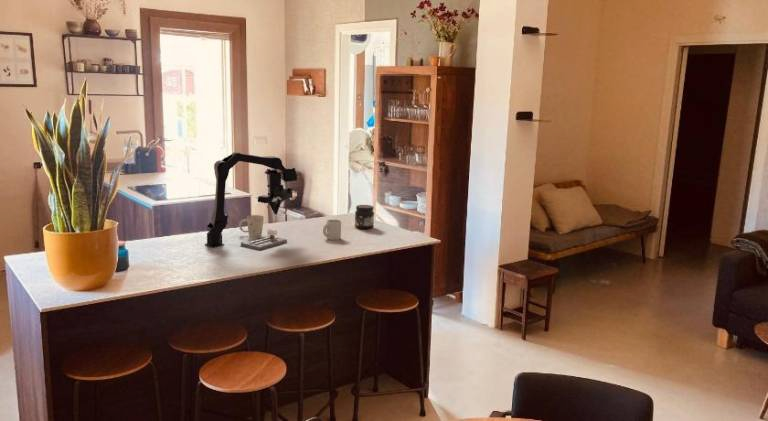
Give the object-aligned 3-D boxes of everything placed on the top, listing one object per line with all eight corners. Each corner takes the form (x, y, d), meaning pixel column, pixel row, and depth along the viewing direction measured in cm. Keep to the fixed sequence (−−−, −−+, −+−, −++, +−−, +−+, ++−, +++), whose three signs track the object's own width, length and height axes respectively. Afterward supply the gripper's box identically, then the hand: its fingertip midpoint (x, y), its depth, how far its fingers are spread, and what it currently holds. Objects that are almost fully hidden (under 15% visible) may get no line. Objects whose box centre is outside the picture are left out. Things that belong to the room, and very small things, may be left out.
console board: (259, 250, 280) (259, 245, 279) (240, 245, 286) (240, 241, 286) (286, 242, 296) (287, 238, 295) (268, 238, 302) (268, 234, 301)
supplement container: (353, 225, 337) (354, 204, 335) (371, 225, 339) (372, 204, 337) (355, 230, 327) (356, 208, 325) (375, 230, 329) (376, 208, 326)
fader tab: (274, 239, 293) (274, 230, 292) (267, 238, 295) (267, 229, 294) (277, 239, 295) (277, 229, 294) (270, 237, 297) (270, 228, 296)
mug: (261, 238, 300) (261, 219, 298) (236, 237, 301) (236, 217, 299) (265, 234, 309) (265, 215, 307) (240, 233, 309) (240, 214, 307)
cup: (343, 239, 307) (344, 221, 305) (326, 241, 301) (327, 223, 299) (335, 235, 313) (335, 219, 311) (319, 238, 306) (319, 221, 305)
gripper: (273, 187, 280) (274, 220, 284) (300, 182, 296) (301, 213, 299) (256, 184, 286) (257, 216, 290) (283, 179, 302) (284, 210, 305)
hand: (275, 214), depth 296 cm, fingers closed
